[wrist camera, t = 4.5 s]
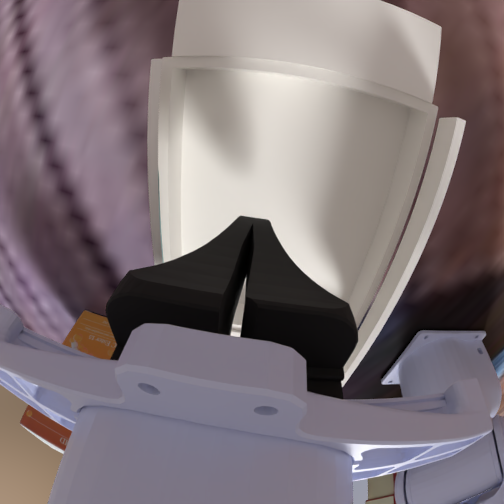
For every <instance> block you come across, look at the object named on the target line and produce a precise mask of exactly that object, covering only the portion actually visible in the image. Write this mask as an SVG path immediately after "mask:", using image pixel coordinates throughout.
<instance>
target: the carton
mask: <svg viewBox="0 0 504 504" xmlns="http://www.w3.org/2000/svg"><path fill="white" fill-rule="evenodd" d="M441 29H442V27H441V26H439V25H437V24H435V23H433V22H431V21H429V20H427V19H425V18H422V17H420V16H418V15H416V14H414V13H411V12H409V11H407V10H404V9H402V8H399V7H397V6H394V5H392V4H389V3H386V2H384V1H381V0H179V5H178V11H177V18H176V25H175V32H174V40H173V49H172V57H163V59H162V70H161V82H160V98H159V121H158V171H159V193H160V217H161V234H162V248H163V260H164V263H165V262H168V261H171V260H174V259H176V258H179V257H181V256H183V255H186V254H188V253H190V252H192V251H194V250H196V249H198V248H200V247H202V246H203V245H205V244H207V243H208V242H209V241H211V240H212V239H214V238H215V237H216V236H218V235H219V234H220V233H221V232H222V231H224V230H225V229H226V228H227V227H228V226H229V225H230V224H232V223H233V222H234V221H235V220H236V219H237V218H238V217H239V216H247V217H254V218H261V219H268V220H269V221H270V222H271V225H272V227H273V230H274V232H275V234H276V236H277V238H278V240H279V241H280V243H281V245H282V247H283V248H284V250H285V251H286V253H287V254H288V255H289V257H290V258H291V259H292V261H293V262H294V263H295V264H296V265H297V266H298V267H299V268H300V269H301V270H302V271H303V272H304V273H305V274H306V275H307V276H308V277H310V278H311V279H312V280H313V281H314V282H316V283H317V284H318V285H320V286H321V287H322V288H324V289H325V290H327V291H328V292H330V293H331V294H333V295H335V296H336V297H338V298H340V299H342V300H343V301H345V302H347V303H349V305H350V308H351V311H352V313H353V315H354V319H355V322H356V326H357V328H358V326H359V324H360V322H361V320H362V318H363V317H364V315H365V313H366V311H367V309H368V307H369V305H370V303H371V301H372V299H373V297H374V295H375V293H376V291H377V288H378V286H379V284H380V282H381V280H382V278H383V276H384V273H385V271H386V269H387V267H388V264H389V262H390V260H391V257H392V255H393V253H394V250H395V248H396V245H397V243H398V241H399V238H400V236H401V233H402V230H403V228H404V225H405V222H406V220H407V217H408V214H409V212H410V209H411V206H412V203H413V200H414V197H415V194H416V191H417V188H418V185H419V182H420V178H421V175H422V172H423V168H424V165H425V161H426V158H427V154H428V150H429V147H430V143H431V139H432V134H433V130H434V126H435V121H436V117H437V112H438V106H435V105H433V104H431V103H432V101H433V96H434V90H435V84H436V77H437V70H438V62H439V54H440V43H441ZM245 289H246V278H245V281H244V285H243V288H242V292H241V295H240V298H239V302H238V305H237V308H236V312H235V315H234V320H233V324H232V330H231V335H230V336H235V337H240V334H241V327H242V319H243V312H244V305H245Z"/></svg>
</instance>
